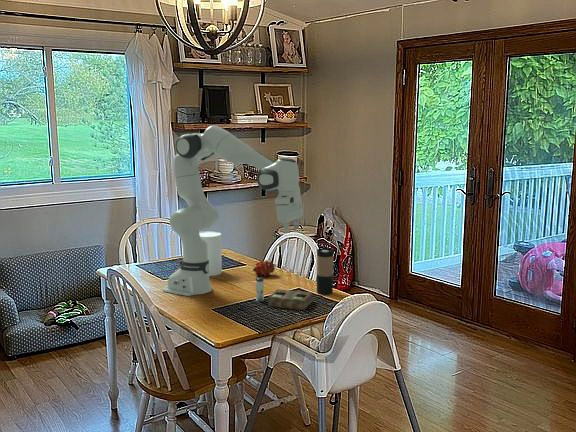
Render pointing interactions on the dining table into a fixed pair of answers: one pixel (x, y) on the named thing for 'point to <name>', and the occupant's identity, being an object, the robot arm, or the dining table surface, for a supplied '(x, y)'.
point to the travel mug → (325, 271)
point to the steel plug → (259, 289)
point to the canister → (213, 251)
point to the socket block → (290, 299)
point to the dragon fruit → (264, 268)
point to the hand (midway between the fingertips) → (292, 230)
